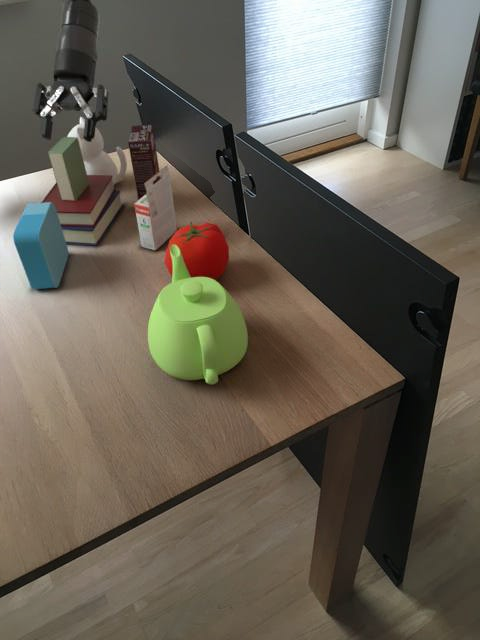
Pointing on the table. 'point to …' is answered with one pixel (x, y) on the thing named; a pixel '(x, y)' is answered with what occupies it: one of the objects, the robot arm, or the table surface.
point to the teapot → (195, 326)
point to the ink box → (156, 212)
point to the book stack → (87, 211)
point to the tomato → (200, 250)
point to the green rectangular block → (69, 168)
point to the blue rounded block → (41, 245)
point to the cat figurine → (98, 155)
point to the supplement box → (143, 156)
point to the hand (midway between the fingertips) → (66, 139)
